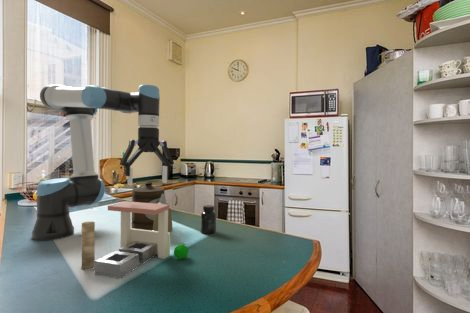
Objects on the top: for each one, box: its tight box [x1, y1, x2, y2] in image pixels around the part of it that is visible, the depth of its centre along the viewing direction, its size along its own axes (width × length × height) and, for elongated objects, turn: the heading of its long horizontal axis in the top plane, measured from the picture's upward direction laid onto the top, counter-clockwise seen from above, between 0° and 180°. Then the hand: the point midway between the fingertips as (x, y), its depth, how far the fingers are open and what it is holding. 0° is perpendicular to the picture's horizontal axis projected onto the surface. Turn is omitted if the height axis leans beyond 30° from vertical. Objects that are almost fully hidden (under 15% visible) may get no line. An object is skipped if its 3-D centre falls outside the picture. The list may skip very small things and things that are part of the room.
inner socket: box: [118, 241, 158, 265], centre depth 99 cm, size 9×9×4 cm
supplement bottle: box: [200, 204, 217, 236], centre depth 130 cm, size 7×7×12 cm
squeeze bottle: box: [153, 193, 174, 235], centre depth 122 cm, size 8×8×18 cm
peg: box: [81, 221, 96, 271], centre depth 91 cm, size 4×4×14 cm
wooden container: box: [131, 180, 165, 231], centre depth 137 cm, size 15×15×22 cm
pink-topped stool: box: [107, 200, 171, 260], centre depth 100 cm, size 18×10×18 cm, turn 74°
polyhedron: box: [173, 243, 189, 260], centre depth 99 cm, size 5×5×5 cm
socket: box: [93, 250, 140, 279], centre depth 89 cm, size 9×9×4 cm
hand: (147, 184), depth 109 cm, fingers open, 13 cm apart
